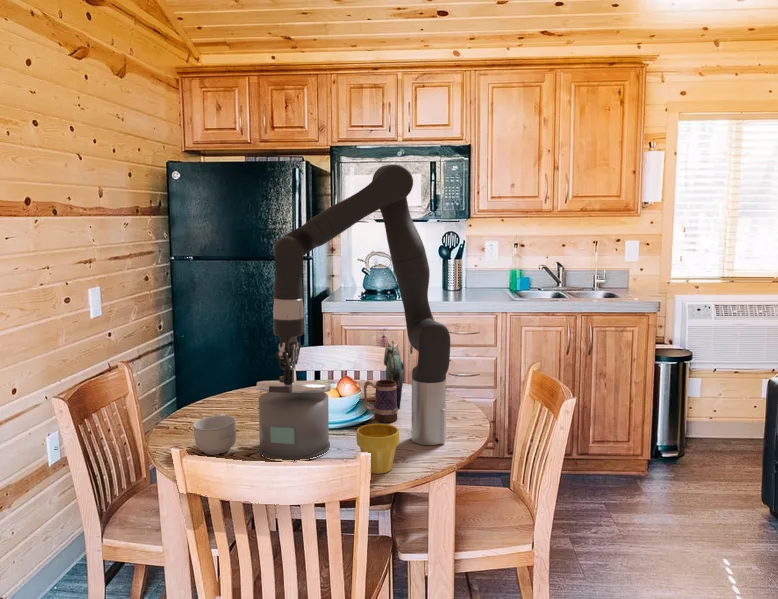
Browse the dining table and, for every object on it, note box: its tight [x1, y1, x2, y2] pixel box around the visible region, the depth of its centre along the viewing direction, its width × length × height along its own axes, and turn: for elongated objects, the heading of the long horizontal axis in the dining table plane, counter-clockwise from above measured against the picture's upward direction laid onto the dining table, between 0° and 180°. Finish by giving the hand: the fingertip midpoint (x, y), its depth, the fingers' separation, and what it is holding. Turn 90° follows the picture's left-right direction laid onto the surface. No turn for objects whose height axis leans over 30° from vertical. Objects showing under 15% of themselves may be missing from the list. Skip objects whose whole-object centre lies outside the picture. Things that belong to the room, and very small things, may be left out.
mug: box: [363, 379, 399, 424], centre depth 191 cm, size 10×7×12 cm
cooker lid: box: [256, 375, 332, 393], centre depth 164 cm, size 19×21×3 cm
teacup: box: [192, 413, 237, 455], centre depth 167 cm, size 14×11×8 cm
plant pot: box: [356, 423, 400, 475], centre depth 154 cm, size 10×10×10 cm
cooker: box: [258, 391, 331, 461], centre depth 167 cm, size 19×20×14 cm
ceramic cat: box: [383, 340, 405, 410], centre depth 210 cm, size 20×6×20 cm, turn 3°
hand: (288, 383), depth 161 cm, fingers closed
